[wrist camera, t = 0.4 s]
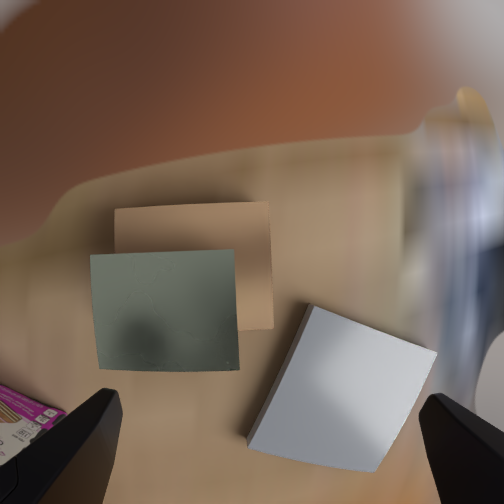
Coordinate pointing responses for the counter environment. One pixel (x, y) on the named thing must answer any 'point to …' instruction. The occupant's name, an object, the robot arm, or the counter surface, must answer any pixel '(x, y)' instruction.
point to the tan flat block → (210, 245)
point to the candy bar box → (22, 421)
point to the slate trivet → (340, 394)
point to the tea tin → (165, 311)
